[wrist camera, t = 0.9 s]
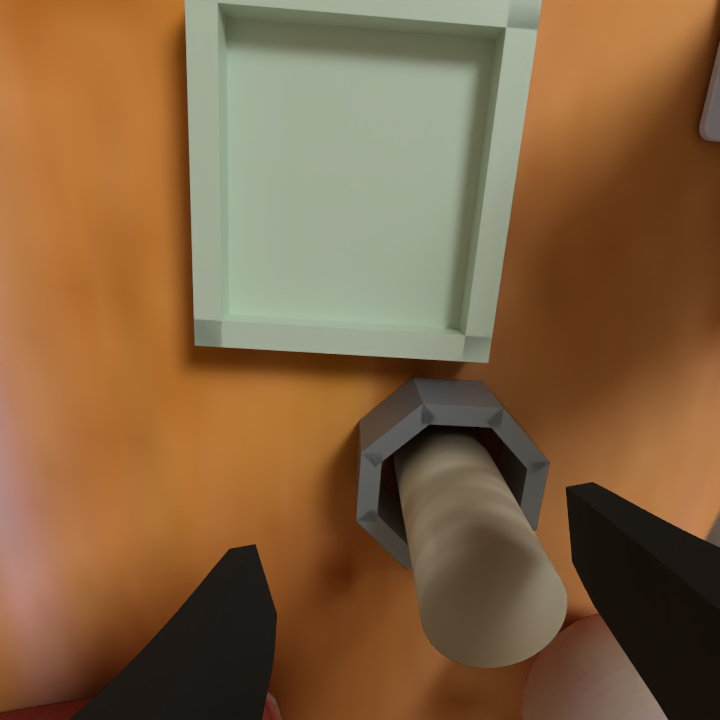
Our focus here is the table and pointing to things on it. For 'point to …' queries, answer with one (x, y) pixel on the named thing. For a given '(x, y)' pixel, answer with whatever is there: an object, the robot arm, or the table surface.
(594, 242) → the table surface
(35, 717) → the plant saucer
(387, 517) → the octagonal ring
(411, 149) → the tray
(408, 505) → the dowel
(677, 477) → the table surface
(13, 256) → the table surface
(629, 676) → the decorative fruit
